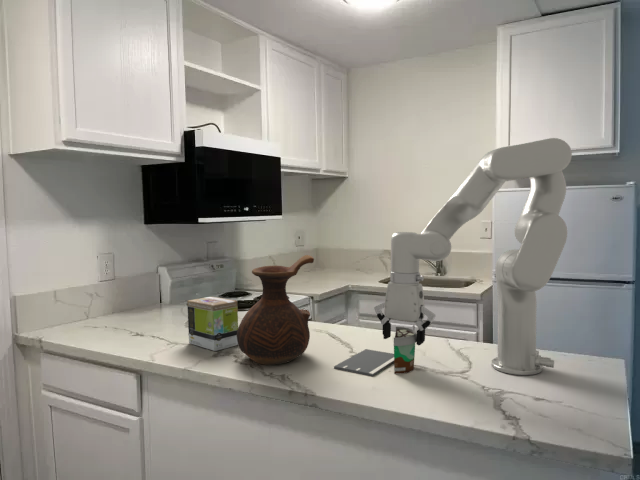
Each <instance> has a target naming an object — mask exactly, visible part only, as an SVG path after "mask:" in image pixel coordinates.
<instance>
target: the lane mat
mask: <svg viewBox="0 0 640 480" xmlns="http://www.w3.org/2000/svg"><path fill="white" fill-rule="evenodd" d="M393 364H394V353H393V352H392V353H391V352H386V351H385V352H384V351H381V350H373V349H368V348H366V349H364V350H361V351H360V352H358V353H356V354H354V355H353V356H351V357H349V358H346V359H344V360H343V361H341V362H339V363H338V364H336V365H334V366H333V369H335V370H340V371H344V372H350V373H354V374H355V373H356V374H358V375H359V374H360V375H365V376H369V377H374V376H376V375H378V373H380V372H382V371H383V370H385V369H386V368H388V367H389V366H391V365H393Z"/></svg>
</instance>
